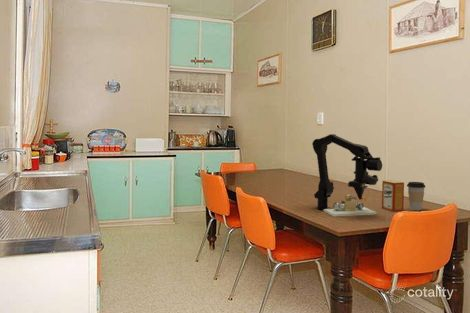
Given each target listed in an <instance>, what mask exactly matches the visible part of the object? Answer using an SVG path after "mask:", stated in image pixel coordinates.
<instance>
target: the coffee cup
mask: <svg viewBox="0 0 470 313" xmlns="http://www.w3.org/2000/svg"><path fill="white" fill-rule="evenodd" d="M406 187H407V188H408V189H407V190H408V193H407V194H408V203H409V209H410V210H411V211H414V210H418V212H420V211H419V210H421V211H422V210H423V209H422V208H423V202H424V195H425V188H426V184H425V183H424V182H422V181H409V182H408V183H407V184H406Z"/></svg>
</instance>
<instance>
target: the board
mask: <svg viewBox="0 0 470 313" xmlns="http://www.w3.org/2000/svg"><path fill="white" fill-rule="evenodd" d="M323 212H324V213H326V214H328V215H330V216H332V217H333V218H334V217H335V218H336V217H350V216H373V215H377V211H374V210H372V209H370V208H367V207H365V206H364V207H363V208H362V209H361V210H358V208H357V209H356V211H343V210H341V209H339V211H336V210H335V209H334V208H330V209H323Z"/></svg>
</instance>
